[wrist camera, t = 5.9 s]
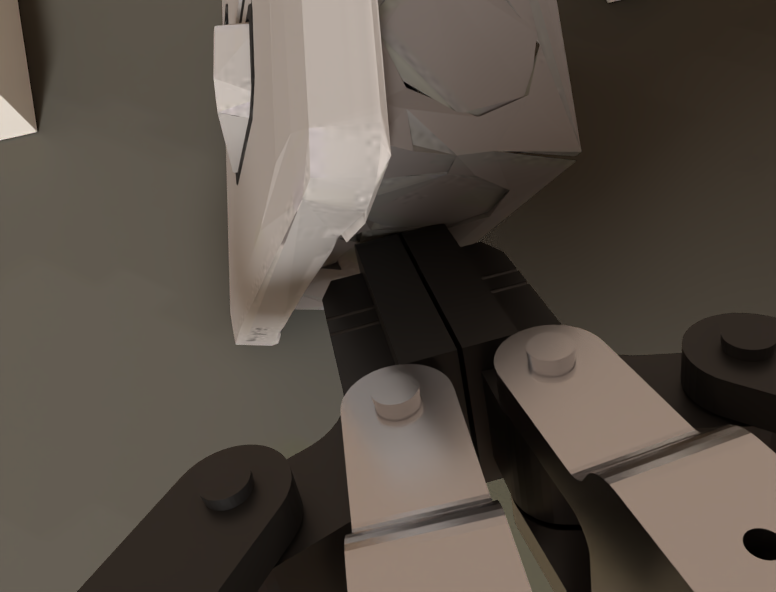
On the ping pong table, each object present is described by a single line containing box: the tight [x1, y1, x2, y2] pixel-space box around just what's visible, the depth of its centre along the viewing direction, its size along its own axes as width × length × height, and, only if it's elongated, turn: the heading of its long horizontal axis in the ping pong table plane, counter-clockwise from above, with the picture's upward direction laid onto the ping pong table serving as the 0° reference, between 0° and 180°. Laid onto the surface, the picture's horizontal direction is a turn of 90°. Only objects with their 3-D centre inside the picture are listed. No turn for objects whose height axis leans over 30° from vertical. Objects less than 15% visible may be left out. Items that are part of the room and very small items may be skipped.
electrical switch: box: [214, 0, 582, 346], centre depth 12 cm, size 9×5×9 cm, turn 5°
